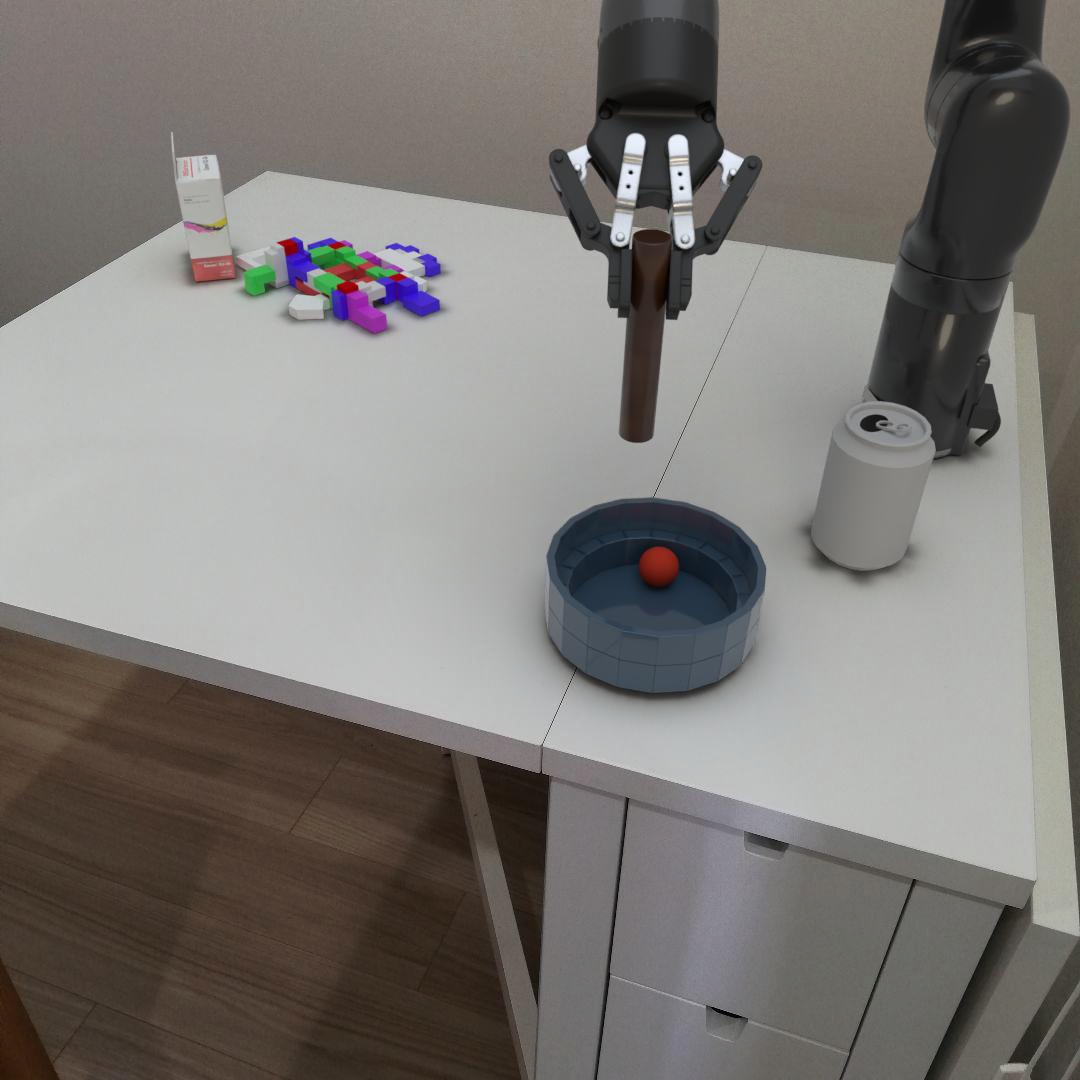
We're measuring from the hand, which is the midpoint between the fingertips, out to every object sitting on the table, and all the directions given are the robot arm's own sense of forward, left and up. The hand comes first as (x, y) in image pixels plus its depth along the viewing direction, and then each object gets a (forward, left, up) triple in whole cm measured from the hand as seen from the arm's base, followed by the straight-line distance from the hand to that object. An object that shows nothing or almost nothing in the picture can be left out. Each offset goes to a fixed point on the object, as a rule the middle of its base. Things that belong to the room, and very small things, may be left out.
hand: (648, 313), depth 64 cm
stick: (0, -2, -10) cm, 10 cm away
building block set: (+40, -48, -24) cm, 67 cm away
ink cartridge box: (+57, -48, -24) cm, 78 cm away
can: (-17, -11, -24) cm, 32 cm away
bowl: (-2, +2, -24) cm, 24 cm away
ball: (-2, -2, -22) cm, 22 cm away
